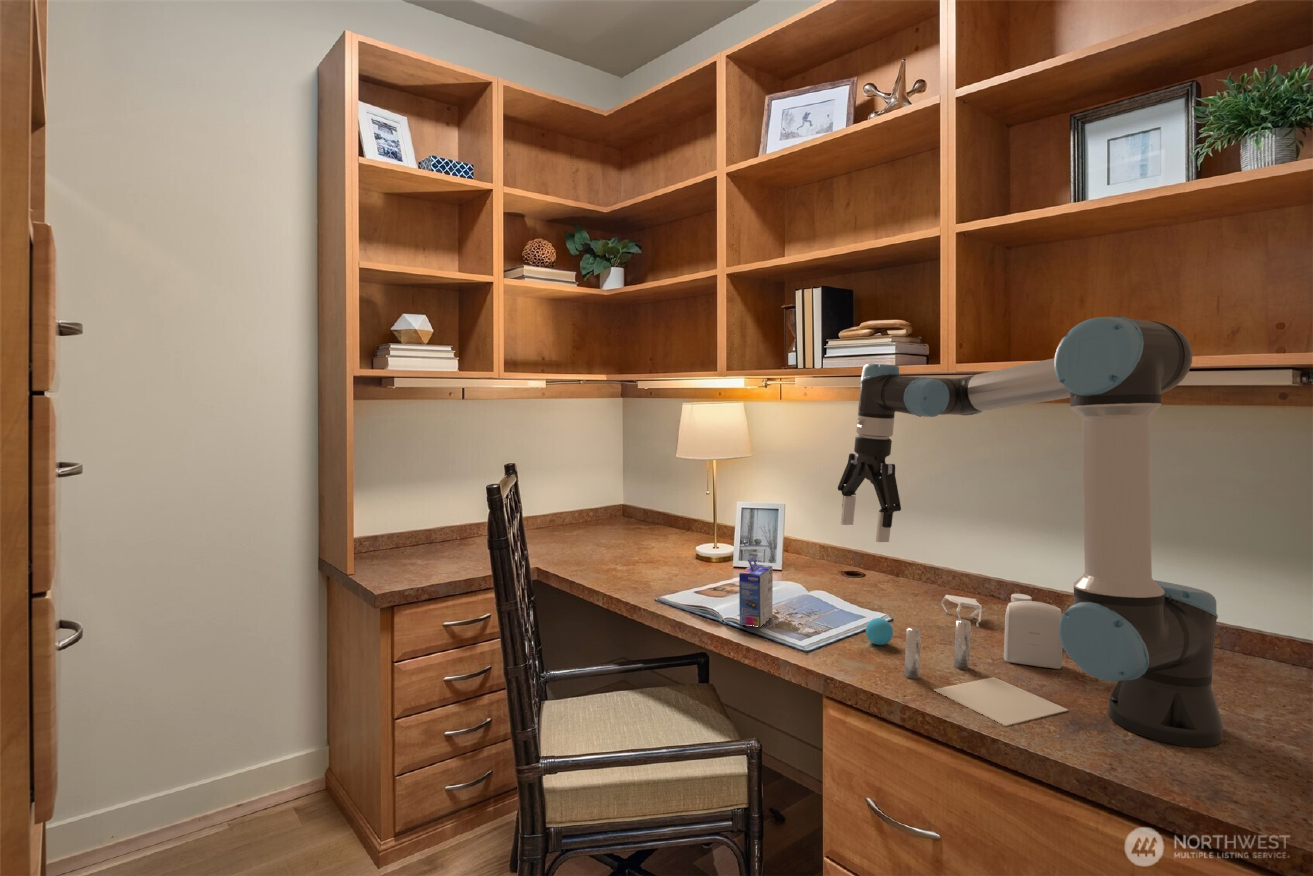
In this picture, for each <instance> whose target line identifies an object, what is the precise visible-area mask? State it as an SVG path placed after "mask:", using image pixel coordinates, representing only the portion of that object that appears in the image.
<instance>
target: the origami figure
mask: <svg viewBox="0 0 1313 876" xmlns="http://www.w3.org/2000/svg"><path fill="white" fill-rule="evenodd" d="M947 600H948V601H950V602H952V603H955V604H957V605H958V606H957V608H956V613H957V618H958V619H962V617H961V614H960V610H961V608H962V607H963V606H964V607H969V608H975V610H974V611H973V612H972V613H971V614H970V615H969V617H970V618H973V619H974V618H975V619H976V620H977V621H976V627H980V625H979V623H980V622H981V621H982V614H983V613H982V611H983V610H984V608H983V607H982V605H981V604H980V603H979V602H978V599H976V598H970V597H964V596H957V595H949V594H945V595H944V597H943V598H942V600H941V602H940V605H941V606H942V608H943V609H944V611H945V612H946V614H947V615H949V612H948V610H947V607H946V605H945V604H944V602H945V601H947ZM977 614H978V618H977V617H975V615H977Z"/></svg>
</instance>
